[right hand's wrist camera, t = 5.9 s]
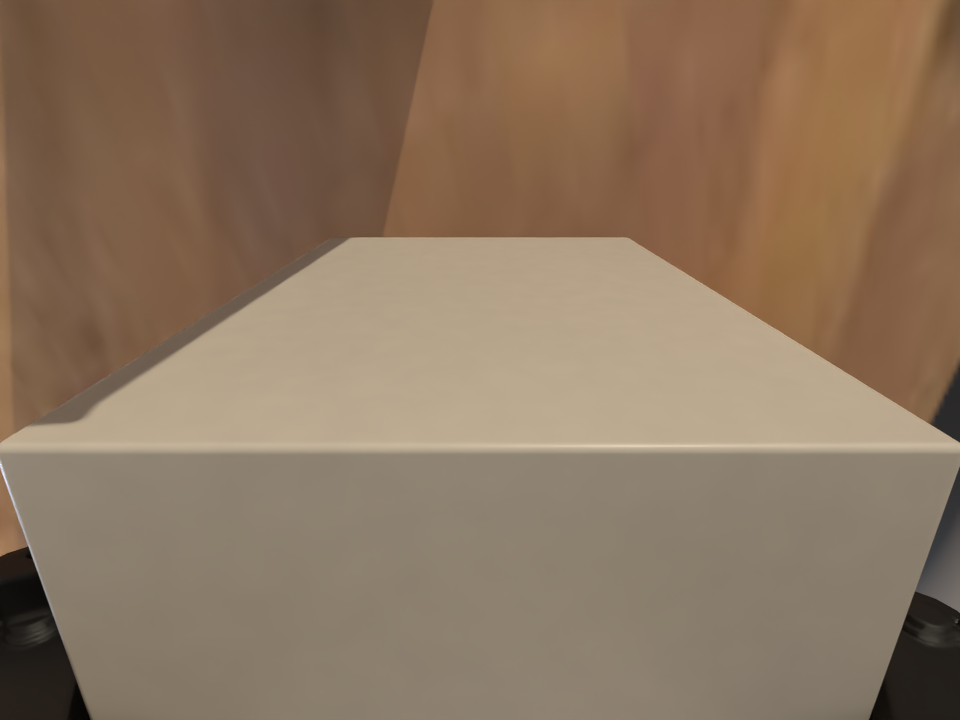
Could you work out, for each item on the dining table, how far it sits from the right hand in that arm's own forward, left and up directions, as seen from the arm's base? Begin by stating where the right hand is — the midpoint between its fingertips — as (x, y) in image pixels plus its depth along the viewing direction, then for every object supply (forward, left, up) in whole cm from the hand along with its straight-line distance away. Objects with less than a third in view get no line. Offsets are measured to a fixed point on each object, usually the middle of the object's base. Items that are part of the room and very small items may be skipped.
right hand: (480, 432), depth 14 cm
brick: (0, 0, -4) cm, 4 cm away
